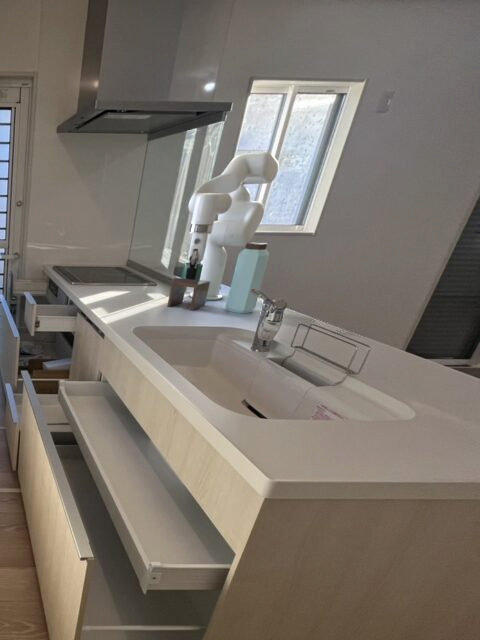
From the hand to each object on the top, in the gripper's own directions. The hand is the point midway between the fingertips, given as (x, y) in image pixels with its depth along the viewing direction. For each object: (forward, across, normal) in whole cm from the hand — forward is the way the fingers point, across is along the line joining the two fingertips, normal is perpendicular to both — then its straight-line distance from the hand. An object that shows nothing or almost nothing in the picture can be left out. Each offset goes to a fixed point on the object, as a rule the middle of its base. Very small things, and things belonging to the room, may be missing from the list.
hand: (191, 276), depth 162 cm
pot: (+2, 0, 0) cm, 2 cm away
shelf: (+12, +1, 0) cm, 12 cm away
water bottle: (+12, +3, -19) cm, 23 cm away
